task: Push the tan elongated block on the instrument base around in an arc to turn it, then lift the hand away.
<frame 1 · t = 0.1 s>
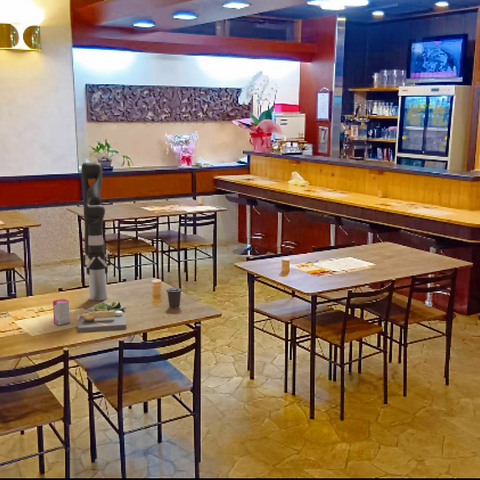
hand: (97, 274, 321), 17 cm above the table, tool pointing down, fingers open, 8 cm apart
coffee cup: (174, 307, 322), on the table
salad plate: (106, 311, 316), on the table
tan elongated block: (99, 315, 294), point 4 cm above the table, hinge at 0.0°
supplement box: (62, 324, 296), on the table
instrument base: (102, 324, 295), on the table
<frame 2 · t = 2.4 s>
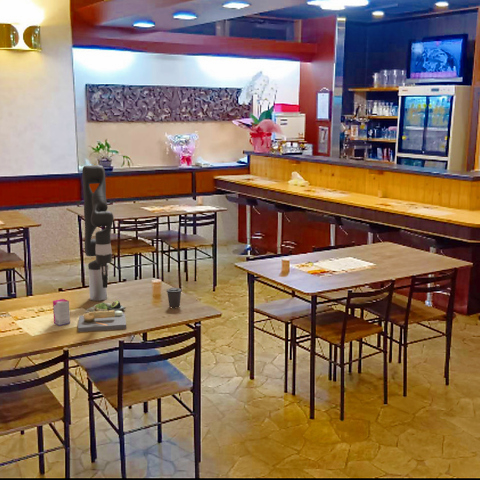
hand: (105, 287, 299), 16 cm above the table, tool pointing down, fingers closed
nothing on the table moved.
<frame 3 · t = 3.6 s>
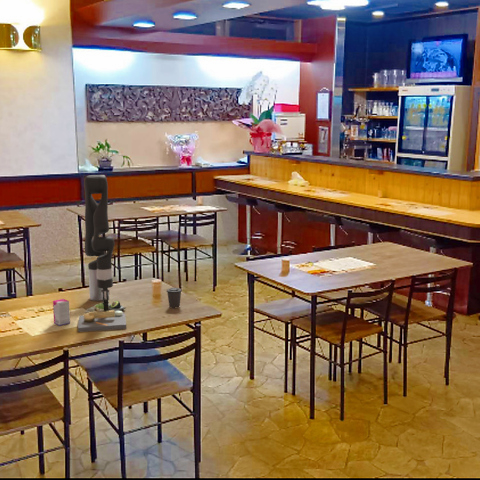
hand: (106, 311, 302), 4 cm above the table, tool pointing down, fingers closed
nothing on the table moved.
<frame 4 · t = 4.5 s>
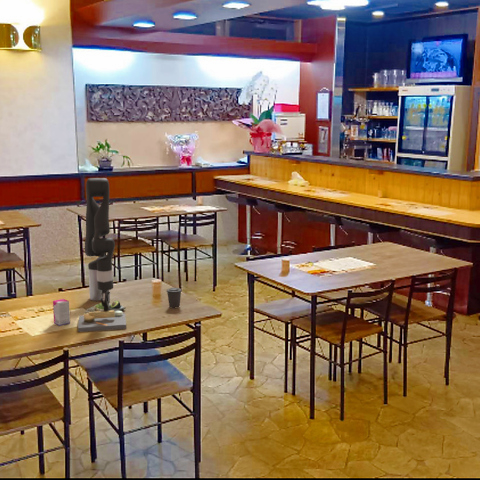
hand: (106, 313, 298), 4 cm above the table, tool pointing down, fingers closed
tan elongated block: (99, 315, 294), point 4 cm above the table, hinge at 0.4°, touching gripper
everything else where it was.
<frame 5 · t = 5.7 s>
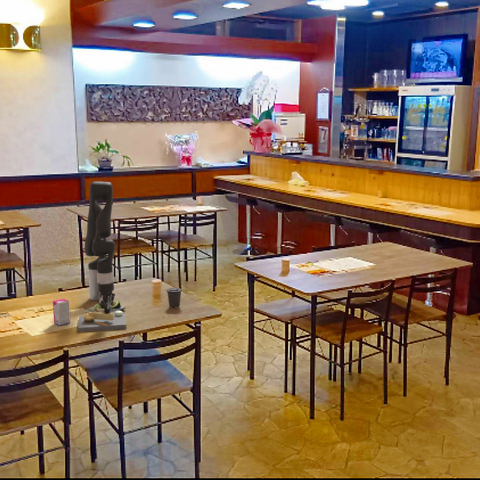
hand: (107, 315, 295), 4 cm above the table, tool pointing down, fingers closed
tan elongated block: (98, 316, 293), point 4 cm above the table, hinge at 22.0°, touching gripper
everything else where it was.
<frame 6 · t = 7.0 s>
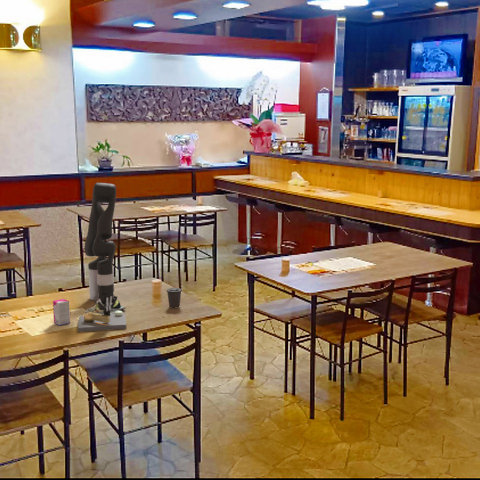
hand: (107, 317, 293), 4 cm above the table, tool pointing down, fingers closed
tan elongated block: (96, 317, 291), point 4 cm above the table, hinge at 41.6°
everything else where it was.
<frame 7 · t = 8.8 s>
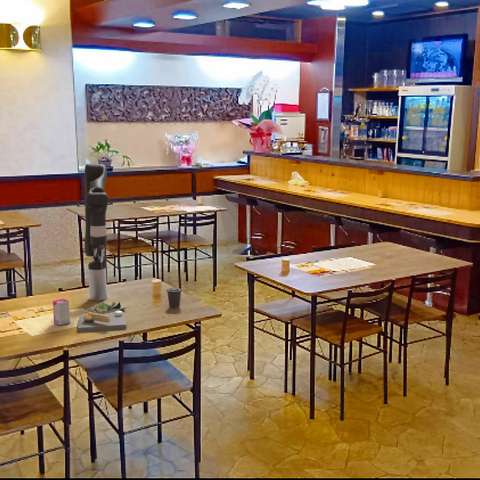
hand: (99, 269, 296), 26 cm above the table, tool pointing down, fingers closed
nothing on the table moved.
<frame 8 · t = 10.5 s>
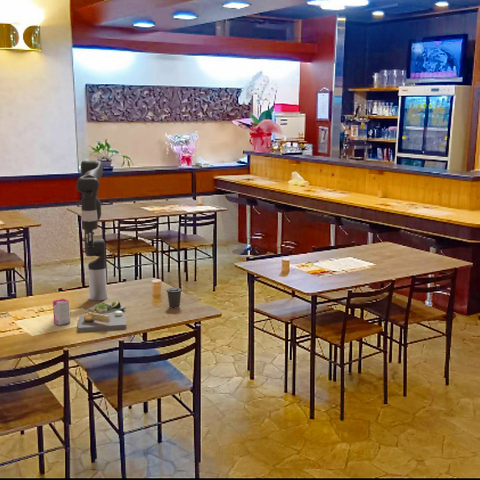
hand: (91, 254, 300), 32 cm above the table, tool pointing down, fingers closed
nothing on the table moved.
at the end: tan elongated block at +42° (first picture: +0°); supplement box moved 0.2 cm from its start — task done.
